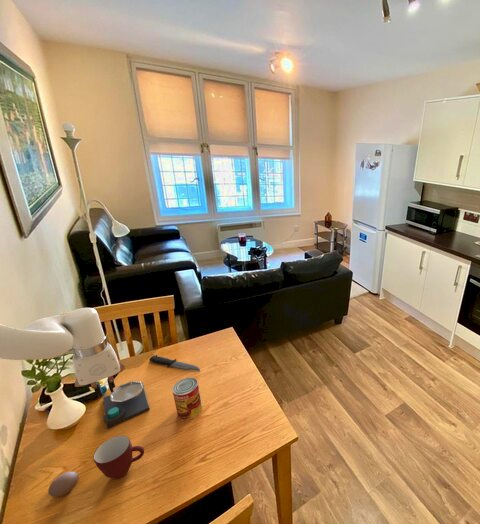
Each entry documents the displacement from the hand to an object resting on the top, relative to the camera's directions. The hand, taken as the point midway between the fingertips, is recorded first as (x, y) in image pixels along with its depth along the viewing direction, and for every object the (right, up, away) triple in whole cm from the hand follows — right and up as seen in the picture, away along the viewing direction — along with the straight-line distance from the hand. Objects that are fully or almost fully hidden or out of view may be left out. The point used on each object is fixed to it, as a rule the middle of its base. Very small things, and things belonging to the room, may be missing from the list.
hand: (106, 391), depth 94 cm
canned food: (+22, -12, +10) cm, 27 cm away
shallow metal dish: (-2, -6, +12) cm, 13 cm away
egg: (+1, -21, -15) cm, 25 cm away
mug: (+14, -19, -9) cm, 25 cm away
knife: (+5, -2, +30) cm, 31 cm away
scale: (-2, -10, +11) cm, 15 cm away
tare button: (-1, -10, +4) cm, 11 cm away
